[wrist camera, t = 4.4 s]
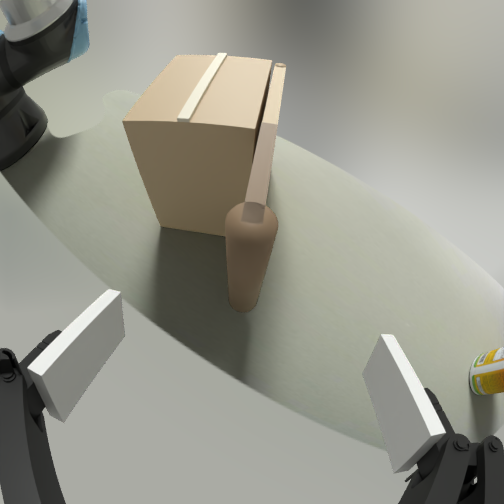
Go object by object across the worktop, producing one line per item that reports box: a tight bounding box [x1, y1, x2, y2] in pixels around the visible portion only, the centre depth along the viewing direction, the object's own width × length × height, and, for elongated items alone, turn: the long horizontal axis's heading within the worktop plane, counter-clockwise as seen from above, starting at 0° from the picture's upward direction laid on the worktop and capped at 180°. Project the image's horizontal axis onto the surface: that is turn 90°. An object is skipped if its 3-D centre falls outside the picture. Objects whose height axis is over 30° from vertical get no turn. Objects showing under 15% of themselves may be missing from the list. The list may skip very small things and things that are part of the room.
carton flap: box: [225, 63, 286, 312], centre depth 22 cm, size 19×2×14 cm, turn 172°
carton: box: [122, 53, 272, 237], centre depth 24 cm, size 11×9×14 cm
